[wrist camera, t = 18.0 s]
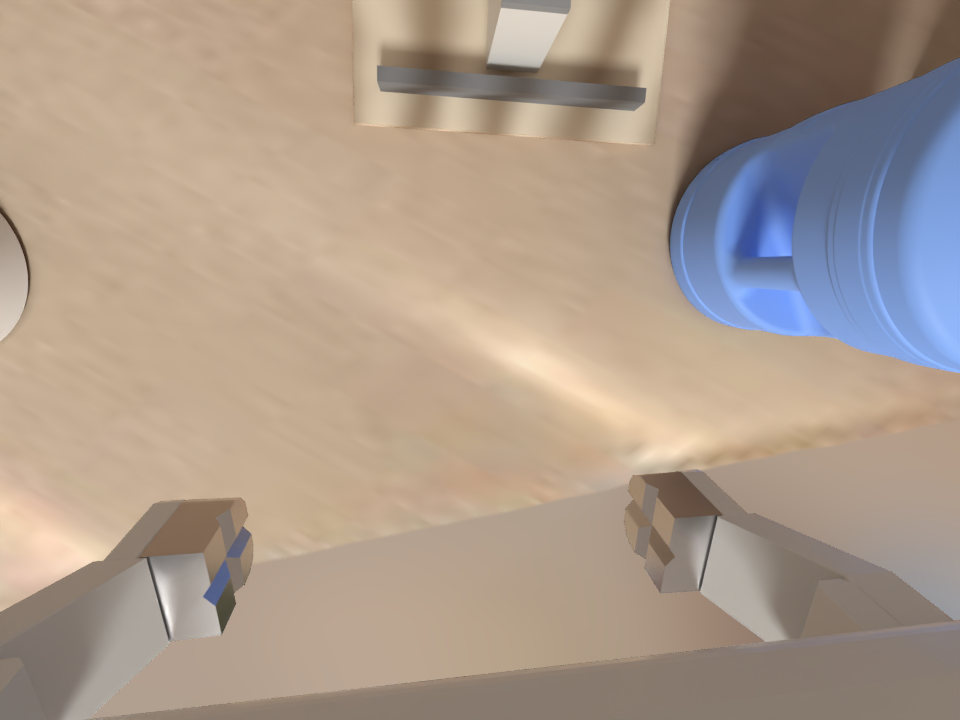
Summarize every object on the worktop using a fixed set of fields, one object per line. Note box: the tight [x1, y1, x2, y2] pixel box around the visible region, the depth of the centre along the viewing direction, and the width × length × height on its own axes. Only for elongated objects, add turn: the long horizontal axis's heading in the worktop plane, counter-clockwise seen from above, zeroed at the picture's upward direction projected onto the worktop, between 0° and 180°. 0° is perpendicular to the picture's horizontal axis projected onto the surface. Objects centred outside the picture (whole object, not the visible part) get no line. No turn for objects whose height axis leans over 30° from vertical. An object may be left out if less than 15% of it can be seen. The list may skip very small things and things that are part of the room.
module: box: [486, 0, 571, 73], centre depth 30 cm, size 4×5×9 cm
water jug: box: [670, 58, 960, 373], centre depth 26 cm, size 16×16×28 cm
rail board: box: [352, 0, 670, 146], centre depth 34 cm, size 24×14×3 cm, turn 88°
